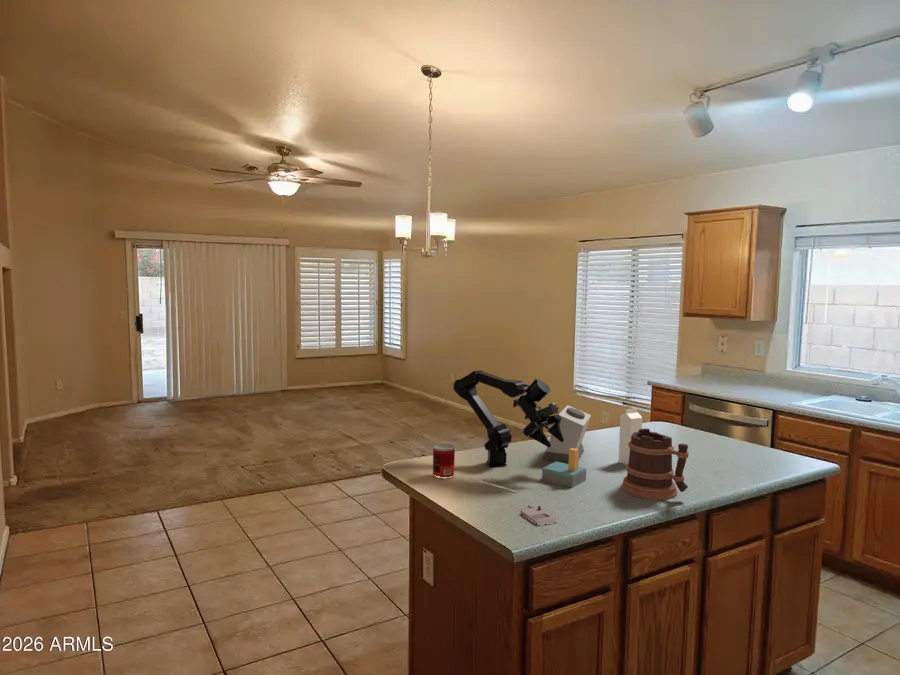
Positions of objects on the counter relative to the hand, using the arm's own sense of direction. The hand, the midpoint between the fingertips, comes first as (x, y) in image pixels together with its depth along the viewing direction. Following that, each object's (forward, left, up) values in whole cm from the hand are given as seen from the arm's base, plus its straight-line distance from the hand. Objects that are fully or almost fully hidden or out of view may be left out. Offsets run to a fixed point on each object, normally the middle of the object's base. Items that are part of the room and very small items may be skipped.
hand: (556, 444), depth 206 cm
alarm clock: (+16, +27, -13) cm, 34 cm away
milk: (+37, +14, -13) cm, 42 cm away
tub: (+2, -3, -13) cm, 13 cm away
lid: (+2, -3, -10) cm, 11 cm away
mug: (+29, -17, -13) cm, 36 cm away
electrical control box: (-19, -31, -14) cm, 39 cm away
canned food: (-39, +11, -13) cm, 43 cm away
